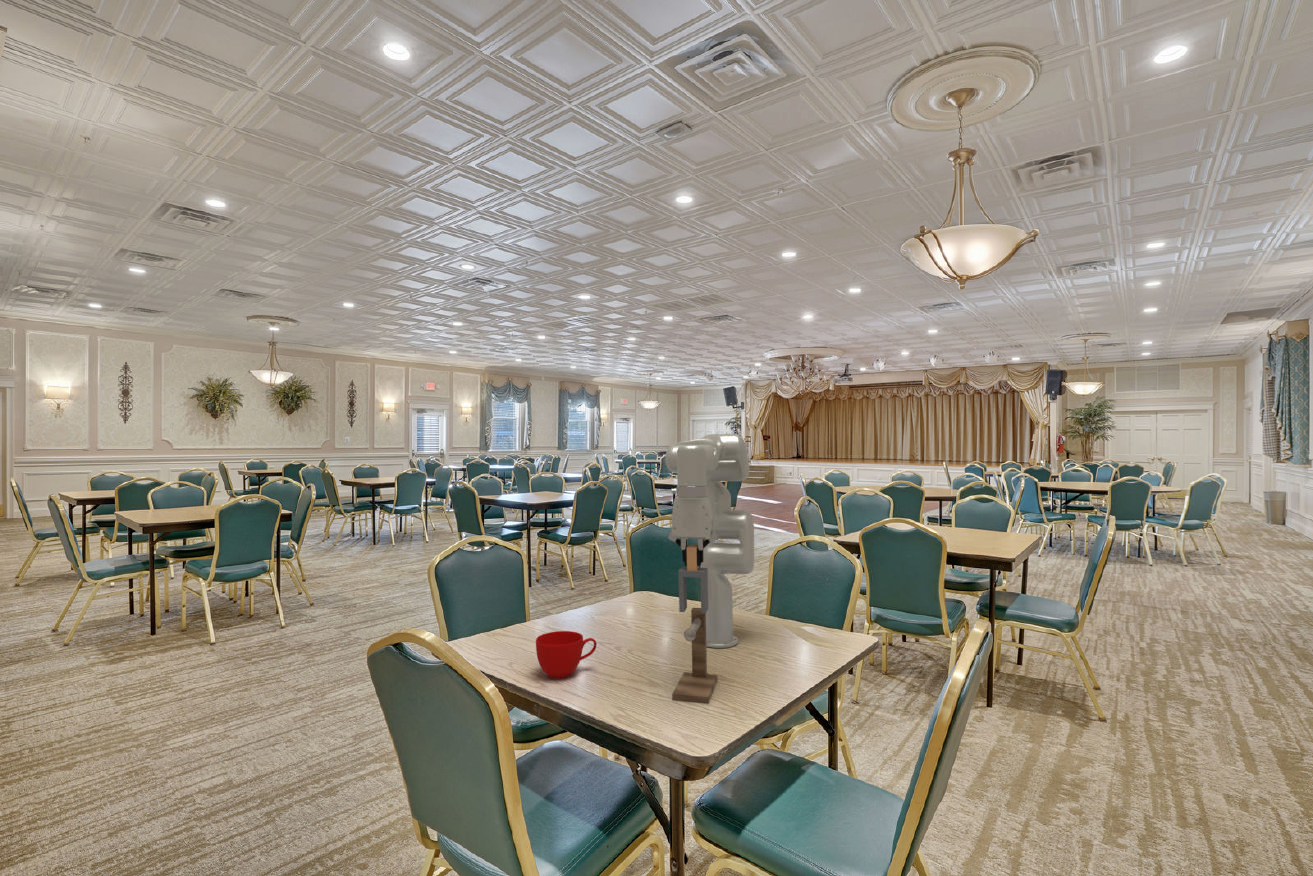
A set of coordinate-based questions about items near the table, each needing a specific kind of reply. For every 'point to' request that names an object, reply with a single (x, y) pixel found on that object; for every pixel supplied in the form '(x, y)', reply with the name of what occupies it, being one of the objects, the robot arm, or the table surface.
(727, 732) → the table surface
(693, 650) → the hook stand
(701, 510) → the robot arm
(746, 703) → the table surface
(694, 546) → the grey arch stand
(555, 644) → the ceramic cup
